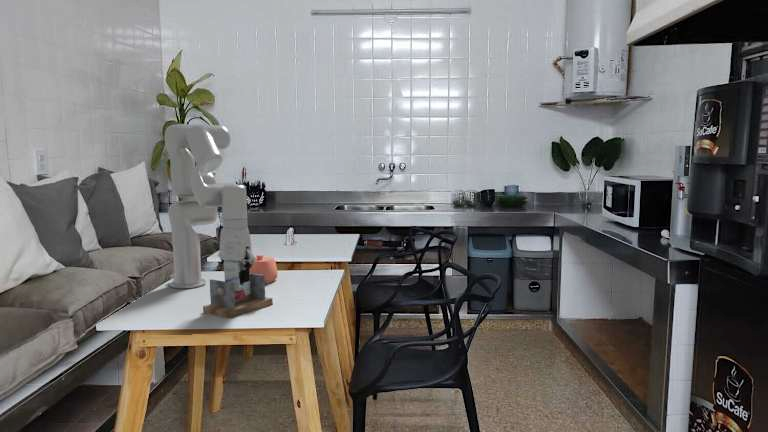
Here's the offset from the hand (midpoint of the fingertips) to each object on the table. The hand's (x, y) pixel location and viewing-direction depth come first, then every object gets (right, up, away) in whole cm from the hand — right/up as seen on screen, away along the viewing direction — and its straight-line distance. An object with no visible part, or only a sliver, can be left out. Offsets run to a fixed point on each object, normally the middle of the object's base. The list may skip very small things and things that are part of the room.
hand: (237, 280), depth 181 cm
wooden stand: (0, -9, +1) cm, 9 cm away
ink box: (0, -5, +1) cm, 5 cm away
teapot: (-1, -5, +37) cm, 38 cm away
